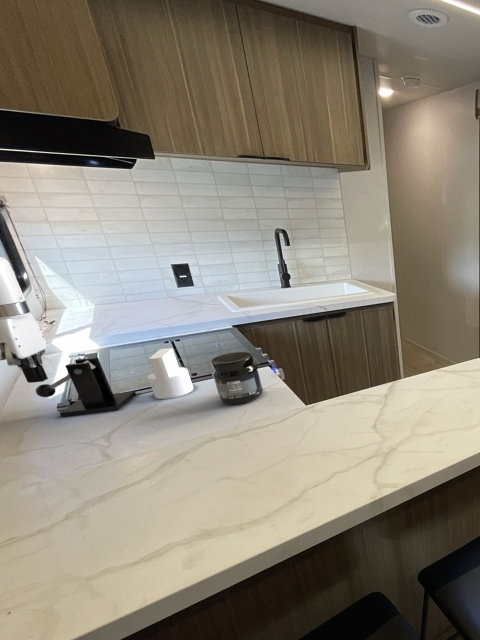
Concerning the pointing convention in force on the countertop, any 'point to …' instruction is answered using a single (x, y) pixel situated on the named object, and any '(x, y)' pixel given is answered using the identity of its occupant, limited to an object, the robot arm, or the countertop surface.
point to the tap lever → (54, 385)
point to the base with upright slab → (168, 375)
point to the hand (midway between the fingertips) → (38, 380)
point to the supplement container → (236, 378)
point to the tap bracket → (93, 390)
